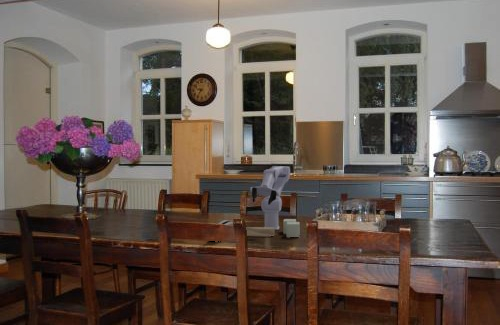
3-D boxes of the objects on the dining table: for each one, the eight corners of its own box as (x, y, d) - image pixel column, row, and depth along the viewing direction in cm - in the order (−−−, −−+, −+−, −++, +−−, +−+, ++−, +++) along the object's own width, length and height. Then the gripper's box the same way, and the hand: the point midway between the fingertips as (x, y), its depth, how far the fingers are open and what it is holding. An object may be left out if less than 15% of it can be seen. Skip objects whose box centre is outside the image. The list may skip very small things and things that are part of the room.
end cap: (287, 234, 237) (287, 221, 237) (299, 234, 237) (299, 221, 237) (286, 237, 229) (286, 224, 229) (299, 237, 229) (299, 224, 229)
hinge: (223, 236, 233) (229, 217, 231) (231, 240, 231) (238, 220, 230) (206, 242, 218) (213, 221, 216) (215, 246, 216) (222, 225, 214)
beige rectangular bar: (246, 235, 238) (246, 227, 238) (274, 235, 236) (274, 227, 236) (245, 236, 234) (245, 228, 234) (274, 237, 232) (274, 228, 232)
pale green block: (284, 231, 248) (284, 218, 247) (295, 231, 247) (295, 219, 247) (283, 233, 240) (283, 221, 239) (295, 234, 239) (295, 221, 239)
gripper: (253, 176, 245) (246, 193, 234) (281, 181, 242) (276, 197, 231) (252, 187, 249) (246, 204, 238) (280, 192, 246) (275, 209, 235)
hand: (261, 202), depth 235 cm, fingers open, 7 cm apart
